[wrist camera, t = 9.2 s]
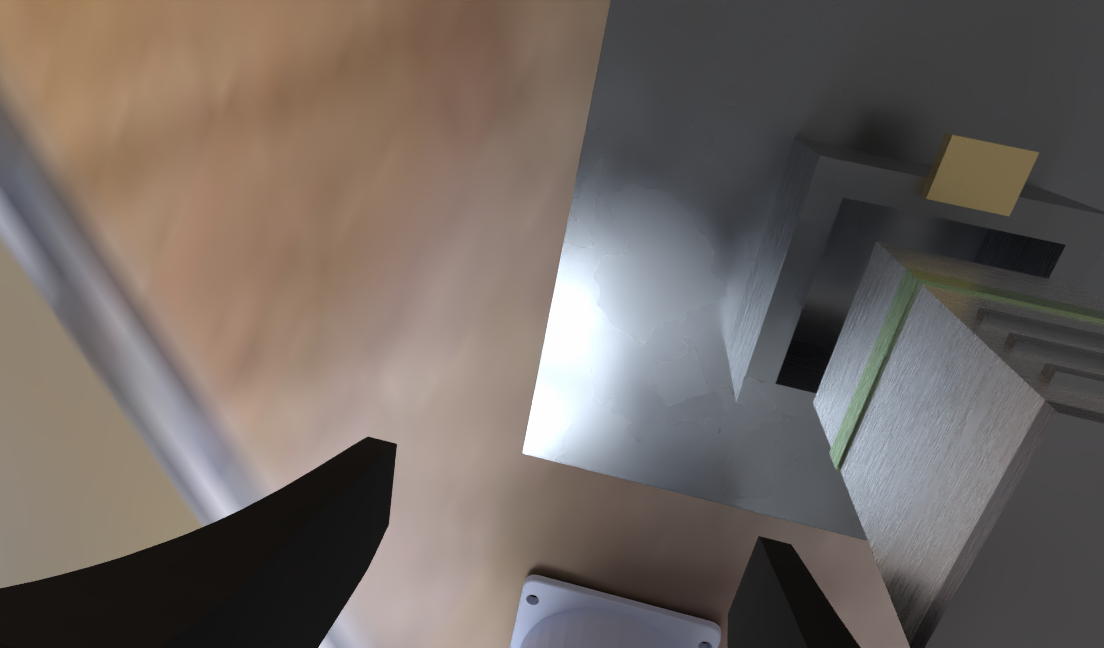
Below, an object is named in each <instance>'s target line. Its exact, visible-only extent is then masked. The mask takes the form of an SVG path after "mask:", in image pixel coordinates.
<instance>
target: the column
mask: <svg viewBox="0 0 1104 648" xmlns="http://www.w3.org/2000/svg"><path fill="white" fill-rule="evenodd" d="M813 404H814V406H815V409H816V411H817V414H818V416H819V419H820V421H821V424H822V427H823V429H824V432H825V434H826V437H827V439H828V442H829V444H830V447H831V450H830V452H829V454H830V456H831V459H832V462H833V464H834V467H835V469H836V470H839V471H840V472H841V474H842V477H843V479H844V482H845V484H846V487H847V489H848V492H849V494H850V497H851V500H852V502H853V505H854V507H855V510H856V512H857V515H858V517H859V520H860V522H861V525H862V527H863V530H864V532H865V535H866V537H867V540H868V542H869V545H870V547H871V550H872V552H873V555H874V557H875V560H876V562H877V565H878V567H879V570H880V572H881V575H882V578H883V580H884V583H885V585H886V588H887V590H888V593H889V595H890V598H891V600H892V603H893V605H894V608H895V610H896V613H897V615H898V618H899V620H900V623H901V625H902V628H903V630H904V633H905V635H906V638H907V640H908V643H909V645H910V648H1104V302H1102V301H1101V300H1099V299H1097V298H1096V297H1094V296H1092V295H1090V294H1089V293H1087V292H1085V291H1084V290H1082V289H1080V288H1079V287H1077V286H1075V285H1073V284H1071V283H1067V282H1062V281H1057V280H1053V279H1048V278H1043V277H1039V276H1034V275H1030V274H1025V273H1020V272H1016V271H1011V270H1006V269H1002V268H997V267H993V266H988V265H983V264H979V263H974V262H970V261H965V260H960V259H956V258H951V257H946V256H942V255H937V254H933V253H928V252H923V251H919V250H914V249H910V248H905V247H900V246H896V245H891V244H886V243H882V242H877V241H876V244H875V246H874V249H873V251H872V254H871V256H870V259H869V261H868V264H867V267H866V269H865V272H864V274H863V277H862V279H861V282H860V284H859V287H858V289H857V292H856V294H855V297H854V300H853V302H852V305H851V307H850V310H849V312H848V315H847V317H846V320H845V322H844V325H843V327H842V330H841V333H840V335H839V338H838V340H837V343H836V345H835V348H834V350H833V353H832V355H831V358H830V361H829V363H828V366H827V368H826V371H825V373H824V376H823V378H822V381H821V383H820V386H819V388H818V391H817V394H816V396H815V399H814V401H813Z"/></svg>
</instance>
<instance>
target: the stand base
mask: <svg viewBox="0 0 1104 648" xmlns="http://www.w3.org/2000/svg"><path fill="white" fill-rule="evenodd" d="M876 241H877V242H882V243H886V244H891V245H896V246H900V247H905V248H910V249H914V250H919V251H923V252H928V253H933V254H937V255H942V256H946V257H951V258H956V259H960V260H965V261H970V262H974V263H979V264H983V265H988V266H993V267H997V268H1002V269H1006V270H1011V271H1016V272H1020V273H1025V274H1030V275H1034V276H1039V277H1043V278H1048V279H1053V280H1057V281H1062V282H1067V283H1071V284H1073V285H1075V286H1077V287H1079V288H1080V289H1082V290H1084V291H1085V292H1087V293H1089V294H1090V295H1092V296H1094V297H1096V298H1097V299H1099V300H1101V301H1102V302H1104V0H611V3H610V8H609V13H608V18H607V23H606V28H605V33H604V39H603V44H602V49H601V54H600V59H599V64H598V69H597V74H596V80H595V85H594V90H593V95H592V100H591V105H590V110H589V115H588V120H587V126H586V131H585V136H584V141H583V146H582V151H581V156H580V161H579V167H578V172H577V177H576V182H575V187H574V192H573V197H572V202H571V207H570V213H569V218H568V223H567V228H566V233H565V238H564V243H563V248H562V253H561V259H560V264H559V269H558V274H557V279H556V284H555V289H554V294H553V300H552V305H551V310H550V315H549V320H548V325H547V330H546V335H545V340H544V346H543V351H542V356H541V361H540V366H539V371H538V376H537V381H536V387H535V392H534V397H533V402H532V407H531V412H530V417H529V422H528V427H527V433H526V438H525V443H524V448H523V454H527V455H531V456H535V457H539V458H543V459H547V460H551V461H555V462H559V463H563V464H567V465H571V466H575V467H579V468H583V469H586V470H590V471H594V472H598V473H602V474H606V475H610V476H614V477H618V478H622V479H626V480H630V481H634V482H638V483H642V484H646V485H650V486H654V487H658V488H662V489H666V490H670V491H674V492H677V493H681V494H685V495H689V496H693V497H697V498H701V499H705V500H709V501H713V502H717V503H721V504H725V505H729V506H733V507H737V508H741V509H745V510H749V511H753V512H757V513H761V514H765V515H768V516H772V517H776V518H780V519H784V520H788V521H792V522H796V523H800V524H804V525H808V526H812V527H816V528H820V529H824V530H828V531H832V532H836V533H840V534H844V535H848V536H852V537H856V538H859V539H863V540H867V537H866V535H865V532H864V530H863V527H862V525H861V522H860V520H859V517H858V515H857V512H856V510H855V507H854V505H853V502H852V500H851V497H850V494H849V492H848V489H847V487H846V484H845V482H844V479H843V477H842V474H841V472H840V471H839V470H836V469H835V467H834V464H833V462H832V459H831V456H830V454H829V452H830V450H831V447H830V444H829V442H828V439H827V437H826V434H825V432H824V429H823V427H822V424H821V421H820V419H819V416H818V414H817V411H816V409H815V406H814V404H813V401H814V399H815V396H816V394H817V391H818V388H819V386H820V383H821V381H822V378H823V376H824V373H825V371H826V368H827V366H828V363H829V361H830V358H831V355H832V353H833V350H834V348H835V345H836V343H837V340H838V338H839V335H840V333H841V330H842V327H843V325H844V322H845V320H846V317H847V315H848V312H849V310H850V307H851V305H852V302H853V300H854V297H855V294H856V292H857V289H858V287H859V284H860V282H861V279H862V277H863V274H864V272H865V269H866V267H867V264H868V261H869V259H870V256H871V254H872V251H873V249H874V246H875V244H876ZM867 541H868V540H867Z"/></svg>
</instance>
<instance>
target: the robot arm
mask: <svg viewBox="0 0 1104 648" xmlns="http://www.w3.org/2000/svg"><path fill="white" fill-rule="evenodd" d="M396 448H397V444H395V443H391V442H387V441H383V440H379V439H375V438H371V437H366V438H365V439H363V440H361V441H359V442H358V443H356V444H354V445H353V446H351V447H349V448H348V449H346V450H345V451H343V452H341V453H340V454H338V455H337V456H335V457H333V458H332V459H330V460H329V461H327V462H325V463H324V464H322V465H320V466H319V467H317V468H315V469H314V470H312V471H310V472H309V473H307V474H305V475H304V476H302V477H300V478H299V479H297V480H295V481H293V482H292V483H290V484H288V485H287V486H285V487H283V488H281V489H280V490H278V491H276V492H274V493H272V494H270V495H268V496H267V497H265V498H263V499H261V500H259V501H257V502H255V503H253V504H251V505H249V506H248V507H246V508H244V509H242V510H240V511H238V512H236V513H234V514H231V515H229V516H227V517H225V518H223V519H221V520H218V521H216V522H214V523H212V524H209V525H207V526H204V527H202V528H200V529H197V530H195V531H193V532H190V533H188V534H185V535H183V536H180V537H178V538H175V539H172V540H170V541H167V542H164V543H161V544H158V545H155V546H152V547H150V548H147V549H144V550H141V551H138V552H136V553H133V554H130V555H127V556H124V557H121V558H118V559H115V560H111V561H108V562H105V563H101V564H98V565H95V566H91V567H88V568H84V569H80V570H77V571H73V572H69V573H65V574H62V575H58V576H54V577H50V578H46V579H42V580H38V581H34V582H28V583H24V584H19V585H14V586H10V587H5V588H0V648H318V647H319V645H320V644H321V642H322V641H323V639H324V638H325V636H326V634H327V633H328V631H329V630H330V628H331V627H332V625H333V623H334V622H335V620H336V619H337V617H338V616H339V614H340V612H341V611H342V609H343V608H344V606H345V605H346V603H347V601H348V600H349V598H350V597H351V595H352V593H353V592H354V590H355V589H356V587H357V586H358V584H359V582H360V581H361V579H362V578H363V576H364V574H365V573H366V571H367V569H368V567H369V565H370V563H371V561H372V559H373V557H374V555H375V553H376V551H377V549H378V547H379V545H380V542H381V540H382V538H383V536H384V534H385V532H386V529H387V527H388V525H389V517H390V507H391V497H392V487H393V477H394V467H395V458H396ZM530 595H535V596H537V598H535V597H532V596H530ZM703 641H704V642H708V643H701V642H703ZM720 641H721V629H720V627H719V626H718V625H717V624H716V623H714V622H712V621H708V620H705V619H701V618H697V617H693V616H690V615H686V614H682V613H678V612H675V611H671V610H667V609H664V608H660V607H656V606H652V605H649V604H645V603H641V602H637V601H634V600H630V599H626V598H622V597H619V596H615V595H611V594H607V593H604V592H600V591H596V590H592V589H589V588H585V587H581V586H578V585H574V584H570V583H566V582H563V581H559V580H555V579H551V578H548V577H544V576H540V575H529V576H528V577H526V579H525V581H524V584H523V588H522V593H521V597H520V602H519V607H518V611H517V616H516V620H515V625H514V630H513V634H512V639H511V643H510V648H718V646H719V644H720ZM728 648H860V646H859V645H858V644H857V642H856V641H855V639H854V638H853V637H852V635H851V634H850V632H849V631H848V630H847V628H846V627H845V625H844V624H843V622H842V621H841V619H840V618H839V616H838V615H837V614H836V612H835V611H834V609H833V608H832V606H831V605H830V603H829V602H828V600H827V599H826V597H825V596H824V594H823V592H822V591H821V589H820V588H819V586H818V585H817V583H816V582H815V580H814V579H813V577H812V576H811V574H810V572H809V571H808V569H807V568H806V566H805V565H804V563H803V562H802V560H801V559H800V557H799V556H798V554H797V552H796V551H795V550H794V548H793V547H792V545H791V544H787V543H783V542H779V541H776V540H772V539H768V538H764V537H760V536H759V537H758V540H757V542H756V545H755V547H754V550H753V552H752V555H751V557H750V560H749V562H748V565H747V567H746V570H745V572H744V575H743V578H742V580H741V583H740V585H739V588H738V590H737V593H736V595H735V598H734V600H733V603H732V605H731V608H730V610H729V613H728Z"/></svg>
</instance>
